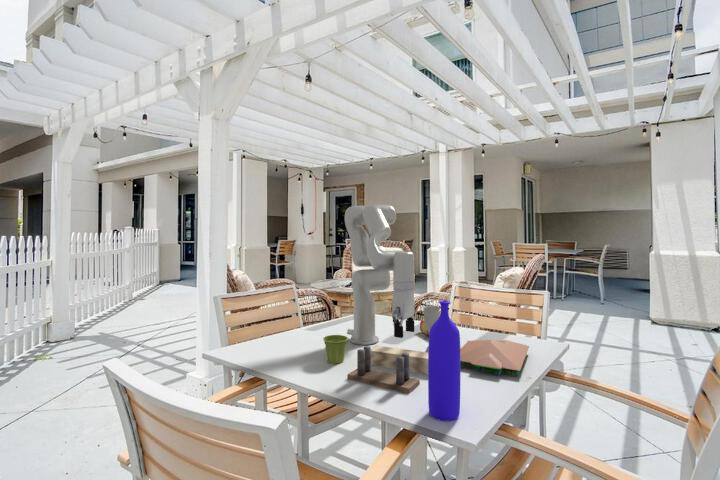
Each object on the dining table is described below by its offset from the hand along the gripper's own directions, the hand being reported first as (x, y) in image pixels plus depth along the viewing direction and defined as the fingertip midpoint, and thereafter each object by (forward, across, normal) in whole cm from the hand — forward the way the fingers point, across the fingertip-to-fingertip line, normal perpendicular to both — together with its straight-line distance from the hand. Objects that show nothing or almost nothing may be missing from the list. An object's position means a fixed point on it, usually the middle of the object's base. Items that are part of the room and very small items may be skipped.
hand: (404, 334), depth 135 cm
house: (+13, -23, +25) cm, 36 cm away
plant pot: (+12, +7, -25) cm, 28 cm away
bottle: (+13, +26, +23) cm, 37 cm away
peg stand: (+12, +15, -1) cm, 20 cm away
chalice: (+12, -21, +2) cm, 24 cm away
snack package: (+11, -42, -4) cm, 44 cm away
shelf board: (+12, -1, -1) cm, 12 cm away
